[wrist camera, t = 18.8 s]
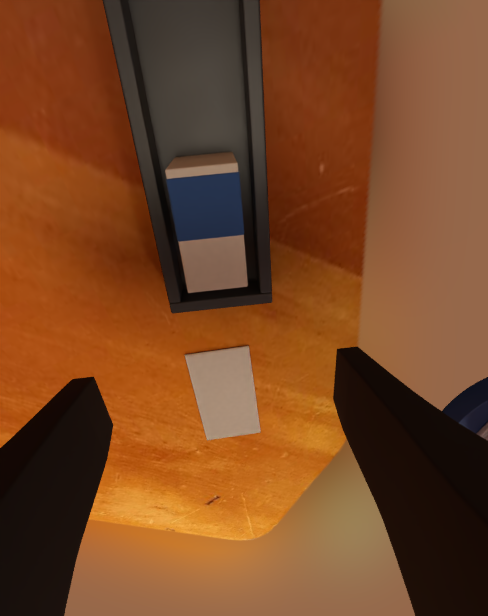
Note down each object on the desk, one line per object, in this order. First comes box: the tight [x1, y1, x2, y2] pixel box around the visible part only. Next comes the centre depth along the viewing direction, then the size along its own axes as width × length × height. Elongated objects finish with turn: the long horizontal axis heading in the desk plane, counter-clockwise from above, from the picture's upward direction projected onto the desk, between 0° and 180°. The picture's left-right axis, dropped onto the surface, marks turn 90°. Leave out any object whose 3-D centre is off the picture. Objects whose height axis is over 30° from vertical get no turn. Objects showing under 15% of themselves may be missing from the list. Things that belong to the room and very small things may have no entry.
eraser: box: [165, 152, 248, 293], centre depth 15 cm, size 5×3×4 cm, turn 4°
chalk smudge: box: [185, 346, 260, 440], centre depth 23 cm, size 8×4×1 cm, turn 7°
